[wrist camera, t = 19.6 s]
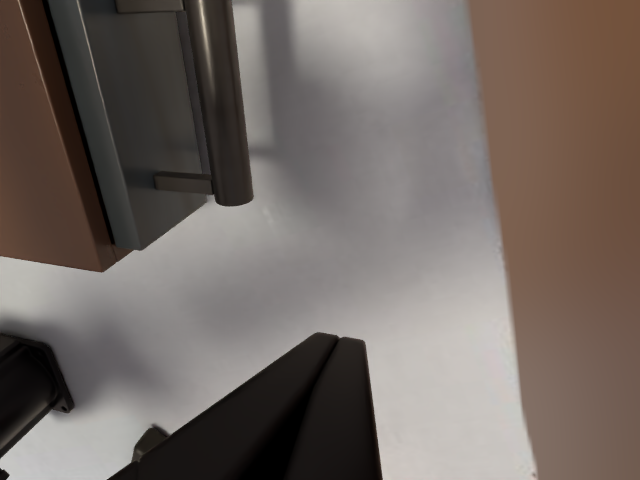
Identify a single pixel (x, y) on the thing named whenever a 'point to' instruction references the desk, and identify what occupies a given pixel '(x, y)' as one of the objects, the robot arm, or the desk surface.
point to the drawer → (153, 108)
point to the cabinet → (44, 154)
